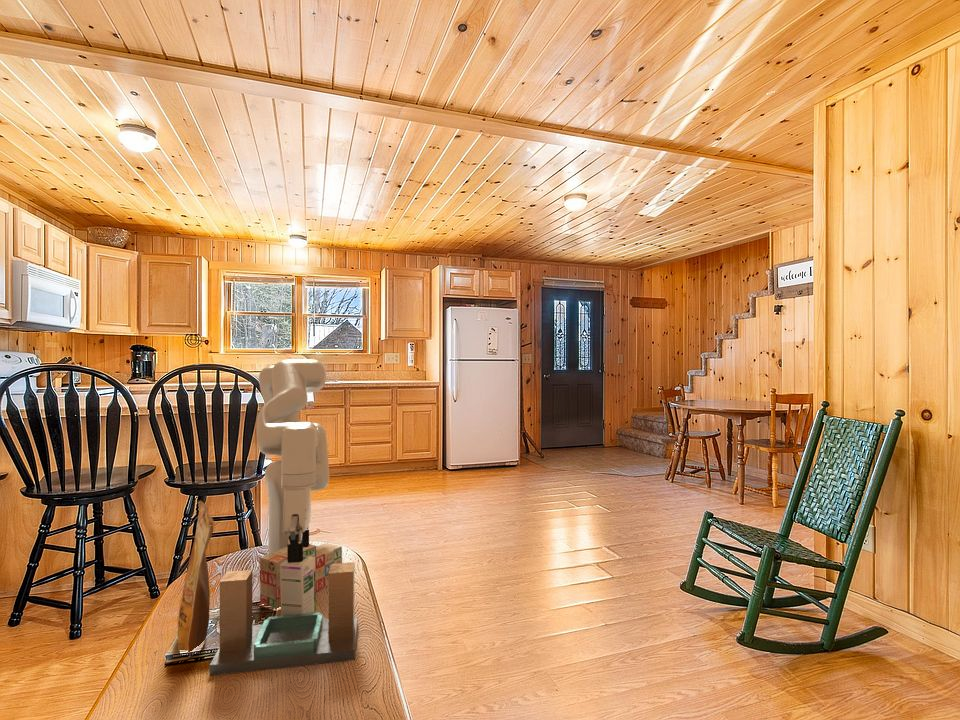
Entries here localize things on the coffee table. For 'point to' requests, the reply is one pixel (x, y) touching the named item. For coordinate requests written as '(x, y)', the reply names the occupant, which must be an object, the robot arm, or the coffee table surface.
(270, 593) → the stack of blocks
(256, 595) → the coffee table surface
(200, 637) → the pancake mix bag
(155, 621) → the coffee table surface
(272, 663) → the grey and tan stand
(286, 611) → the syrup box
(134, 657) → the coffee table surface
